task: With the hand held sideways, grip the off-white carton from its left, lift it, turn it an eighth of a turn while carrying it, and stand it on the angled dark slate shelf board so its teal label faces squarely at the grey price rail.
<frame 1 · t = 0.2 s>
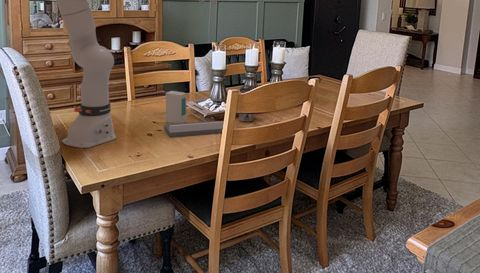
hand: (208, 4, 226), 53 cm above the table, tool tilted 25°, fingers open, 8 cm apart
carton: (176, 121, 234), on the table
coffee box: (247, 119, 242), on the table
shelf: (194, 130, 222), on the table
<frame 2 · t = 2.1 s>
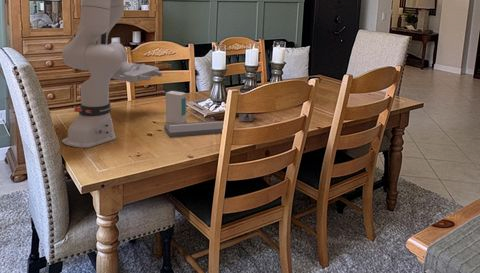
hand: (155, 76, 232), 20 cm above the table, tool horizontal, fingers open, 8 cm apart
nothing on the table moved.
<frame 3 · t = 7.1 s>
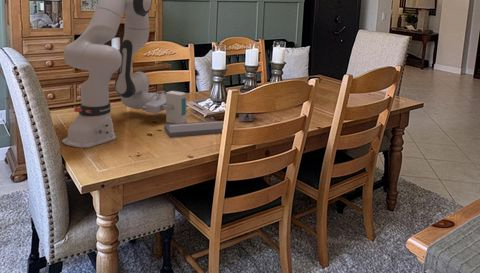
hand: (176, 106, 231), 8 cm above the table, tool horizontal, fingers closed on carton, 5 cm apart
carton: (176, 121, 234), on the table, touching gripper
everything else where it was.
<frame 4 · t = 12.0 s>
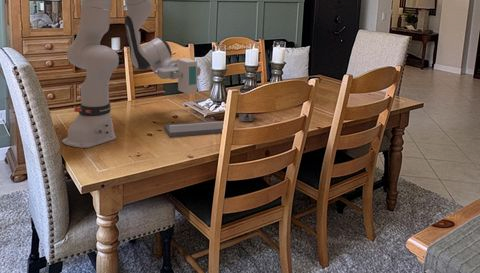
hand: (188, 75, 219), 24 cm above the table, tool horizontal, fingers closed on carton, 5 cm apart
carton: (187, 91, 222), point 17 cm above the table, touching gripper
everything else where it was.
when the fingers open (10 cm above the table, at t = 17.0 s): carton stays where it is, resting on shelf.
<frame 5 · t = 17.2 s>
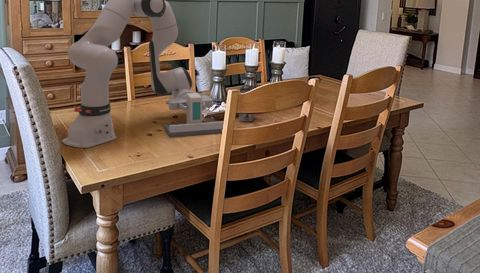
hand: (194, 107, 219), 10 cm above the table, tool horizontal, fingers open, 7 cm apart
carton: (194, 125, 222), point 2 cm above the table, touching shelf
everything else where it was.
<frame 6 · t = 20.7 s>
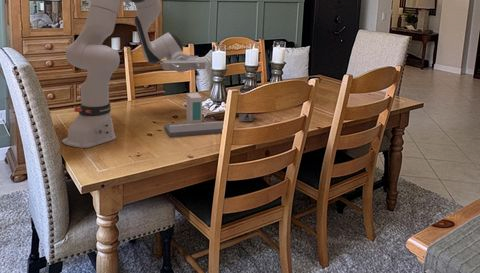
hand: (187, 67, 225), 26 cm above the table, tool horizontal, fingers open, 8 cm apart
nothing on the table moved.
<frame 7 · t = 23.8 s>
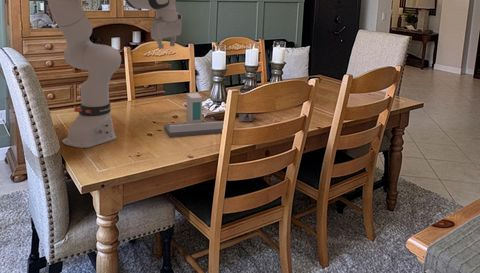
hand: (166, 47, 227), 34 cm above the table, tool pointing down, fingers open, 8 cm apart
nothing on the table moved.
at the end: carton inside the target area on the shelf (0.8 cm from its centre), point 2.0 cm above the shelf's base; carton tilted 0°; the gripper is holding nothing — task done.
